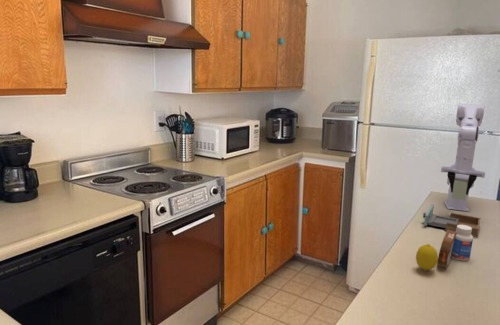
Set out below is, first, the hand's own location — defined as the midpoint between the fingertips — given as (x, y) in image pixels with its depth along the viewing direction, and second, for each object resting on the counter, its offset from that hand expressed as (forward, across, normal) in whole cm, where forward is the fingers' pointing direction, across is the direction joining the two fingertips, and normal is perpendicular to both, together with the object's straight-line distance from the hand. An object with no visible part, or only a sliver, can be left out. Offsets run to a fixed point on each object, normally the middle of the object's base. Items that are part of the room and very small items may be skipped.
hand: (459, 192), depth 150 cm
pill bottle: (+11, +4, -36) cm, 38 cm away
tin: (+11, +1, -42) cm, 43 cm away
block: (+2, 0, 0) cm, 2 cm away
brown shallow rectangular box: (+10, +3, -10) cm, 15 cm away
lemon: (+11, -3, -51) cm, 53 cm away
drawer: (+10, -4, -10) cm, 14 cm away
